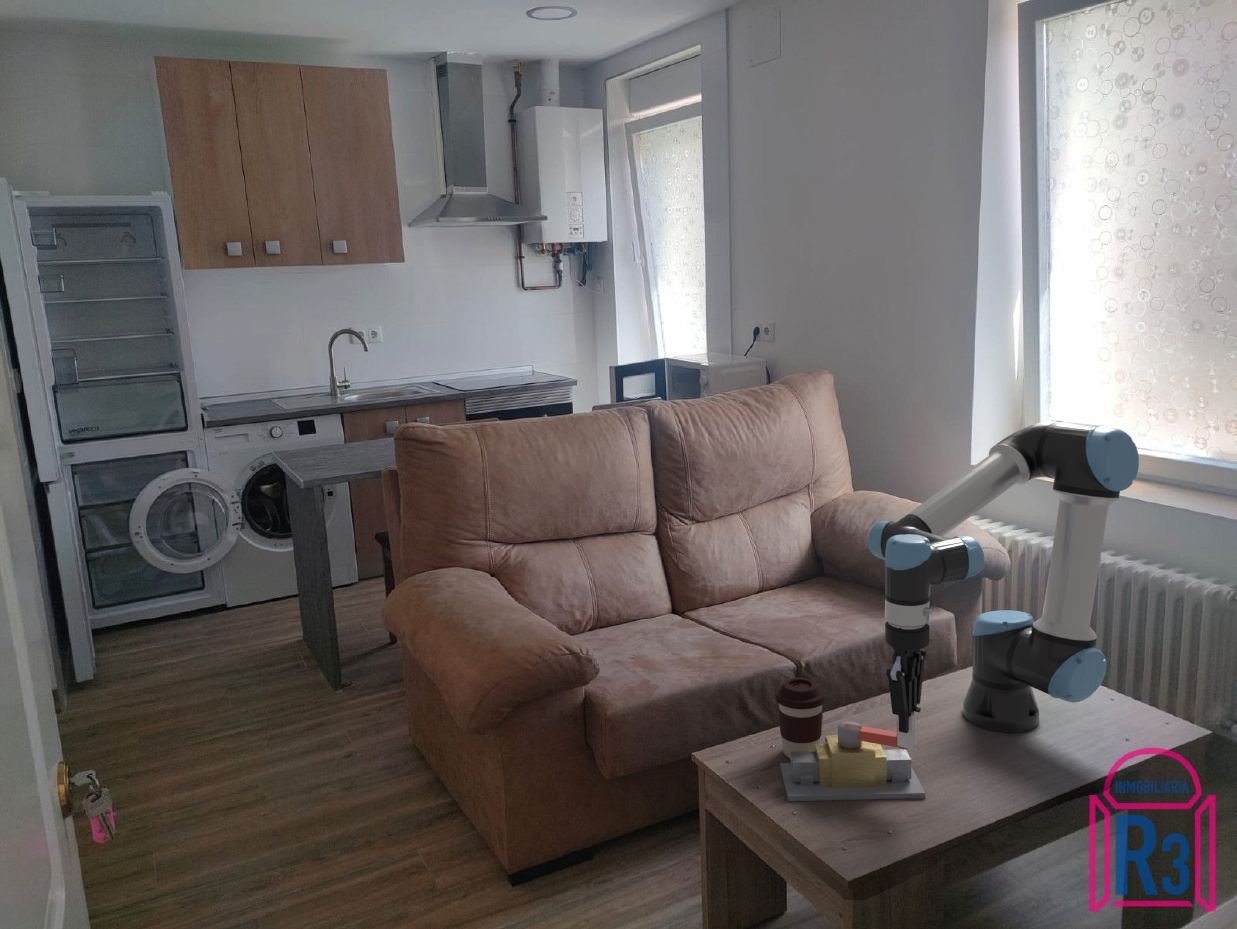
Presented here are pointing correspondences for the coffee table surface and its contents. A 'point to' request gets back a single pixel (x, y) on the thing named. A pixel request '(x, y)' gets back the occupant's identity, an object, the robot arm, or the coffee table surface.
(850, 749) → the pipe valve
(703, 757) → the coffee table surface
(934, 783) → the coffee table surface
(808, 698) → the coffee cup
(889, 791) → the mount board
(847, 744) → the lever
